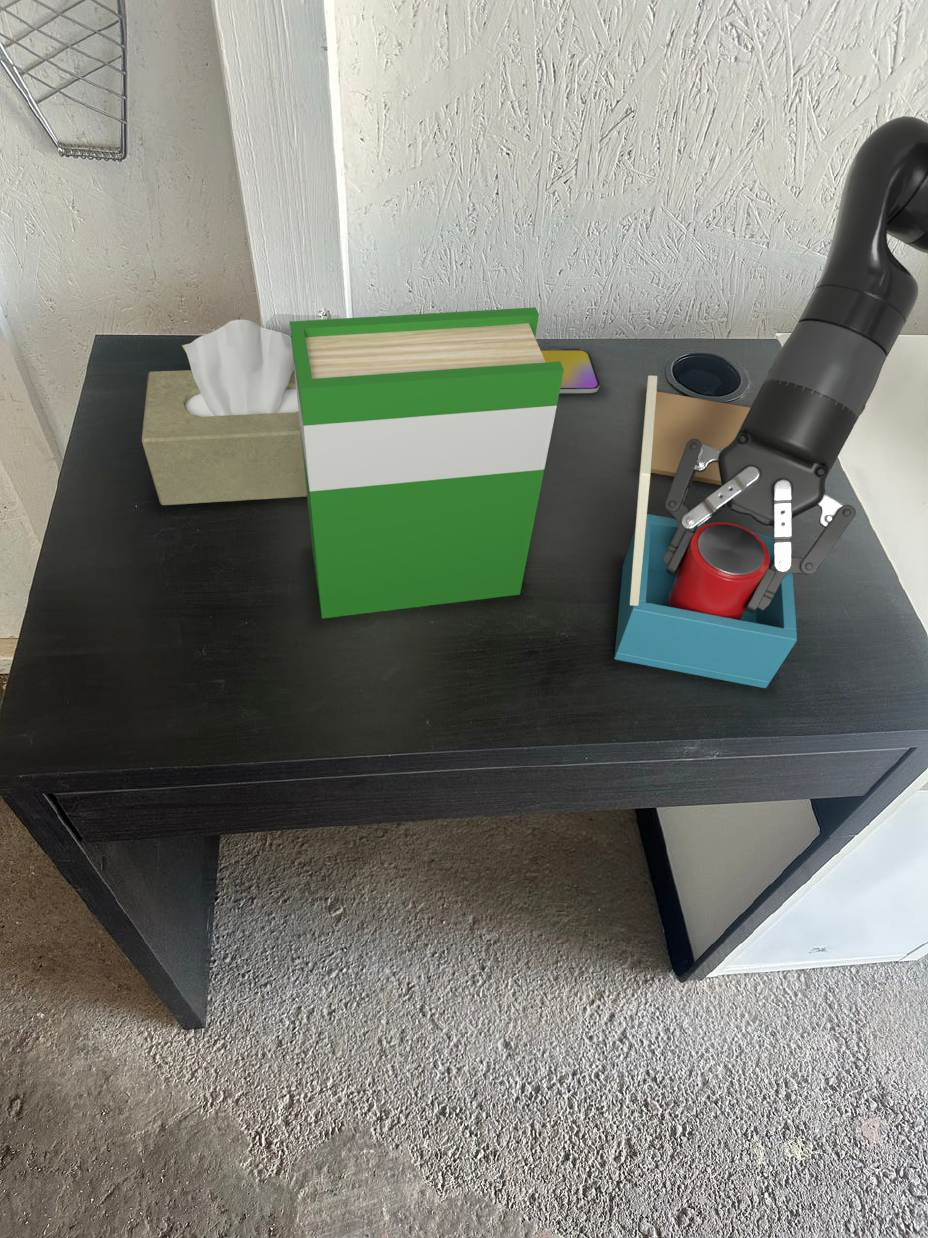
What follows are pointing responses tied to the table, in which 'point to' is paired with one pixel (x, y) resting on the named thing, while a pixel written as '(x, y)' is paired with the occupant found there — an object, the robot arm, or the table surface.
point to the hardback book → (422, 454)
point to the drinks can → (719, 571)
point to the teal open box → (700, 622)
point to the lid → (643, 489)
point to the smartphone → (574, 370)
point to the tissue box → (226, 420)
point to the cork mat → (692, 431)
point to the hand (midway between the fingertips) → (709, 592)
